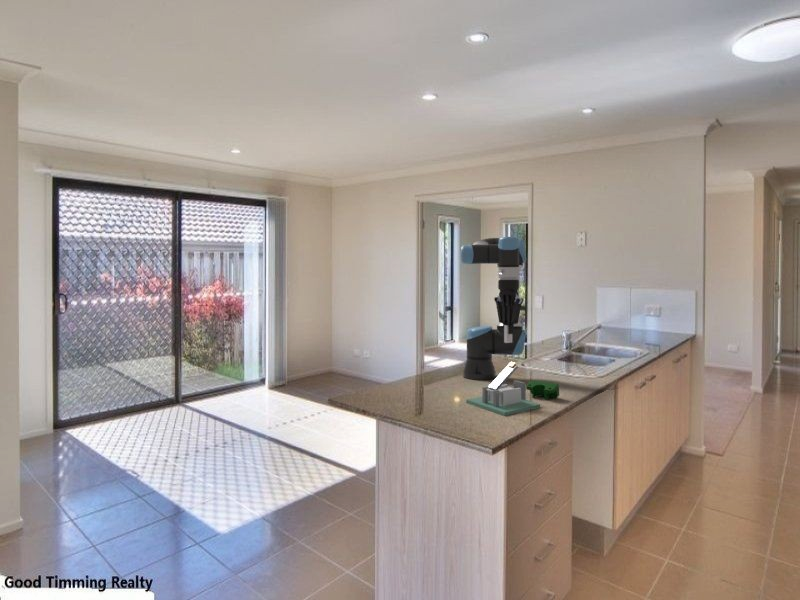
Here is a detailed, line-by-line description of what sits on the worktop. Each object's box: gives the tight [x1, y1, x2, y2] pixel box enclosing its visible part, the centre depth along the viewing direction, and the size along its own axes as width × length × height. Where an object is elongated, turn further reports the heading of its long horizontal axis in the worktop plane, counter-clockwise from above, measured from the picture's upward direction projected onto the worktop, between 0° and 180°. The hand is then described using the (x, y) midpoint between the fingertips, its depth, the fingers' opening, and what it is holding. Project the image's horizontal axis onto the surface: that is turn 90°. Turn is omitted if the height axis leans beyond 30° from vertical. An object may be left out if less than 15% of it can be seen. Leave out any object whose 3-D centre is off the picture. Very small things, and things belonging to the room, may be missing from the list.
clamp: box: [526, 379, 560, 401], centre depth 196 cm, size 12×6×9 cm, turn 42°
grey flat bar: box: [487, 361, 519, 390], centre depth 185 cm, size 14×4×2 cm
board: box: [465, 379, 541, 417], centre depth 186 cm, size 18×20×8 cm
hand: (508, 342), depth 186 cm, fingers closed
